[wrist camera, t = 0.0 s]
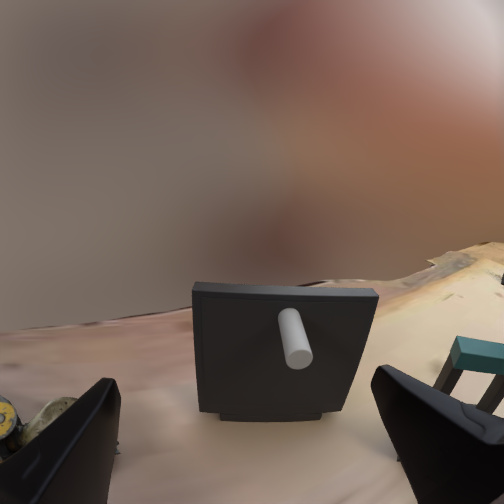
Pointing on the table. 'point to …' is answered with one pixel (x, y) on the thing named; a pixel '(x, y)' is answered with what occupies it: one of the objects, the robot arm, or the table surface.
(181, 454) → the table surface
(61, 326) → the table surface
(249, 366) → the dark panel
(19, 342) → the table surface
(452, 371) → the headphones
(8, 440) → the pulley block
